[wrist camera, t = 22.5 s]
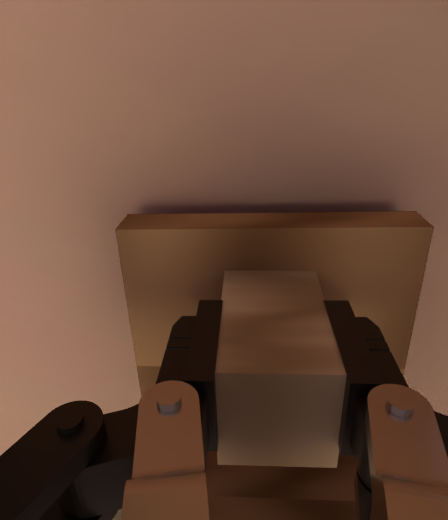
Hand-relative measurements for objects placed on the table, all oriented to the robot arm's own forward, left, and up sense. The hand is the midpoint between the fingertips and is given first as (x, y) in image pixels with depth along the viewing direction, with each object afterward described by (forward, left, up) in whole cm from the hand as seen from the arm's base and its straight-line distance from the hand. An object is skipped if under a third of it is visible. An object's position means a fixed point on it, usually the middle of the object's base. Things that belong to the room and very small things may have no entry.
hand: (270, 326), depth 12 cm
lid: (0, +3, -3) cm, 4 cm away
